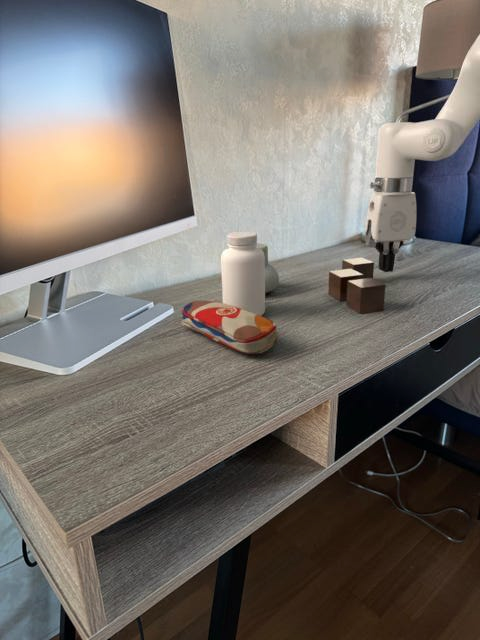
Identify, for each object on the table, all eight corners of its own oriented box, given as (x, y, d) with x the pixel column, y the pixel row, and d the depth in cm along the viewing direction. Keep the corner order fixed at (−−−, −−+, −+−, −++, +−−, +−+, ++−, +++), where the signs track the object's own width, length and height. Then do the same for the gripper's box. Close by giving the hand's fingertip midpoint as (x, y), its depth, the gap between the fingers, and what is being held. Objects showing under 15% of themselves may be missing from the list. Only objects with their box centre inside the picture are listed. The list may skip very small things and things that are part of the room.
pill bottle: (258, 322, 79) (255, 238, 74) (216, 318, 82) (211, 237, 77) (270, 308, 86) (269, 230, 81) (232, 304, 89) (228, 229, 83)
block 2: (369, 302, 87) (370, 277, 85) (383, 310, 82) (385, 284, 81) (346, 305, 86) (347, 280, 84) (359, 314, 81) (361, 287, 79)
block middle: (349, 291, 94) (350, 268, 92) (362, 298, 89) (363, 274, 87) (328, 294, 93) (328, 271, 91) (339, 301, 88) (340, 277, 86)
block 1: (360, 278, 102) (362, 257, 100) (372, 284, 98) (374, 262, 96) (341, 281, 101) (342, 259, 99) (352, 287, 96) (353, 264, 95)
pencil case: (219, 369, 63) (216, 337, 61) (176, 325, 80) (174, 298, 78) (285, 352, 67) (285, 321, 66) (232, 313, 84) (231, 288, 82)
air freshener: (229, 287, 100) (227, 243, 96) (263, 282, 102) (262, 239, 99) (245, 301, 90) (243, 253, 87) (282, 296, 93) (282, 248, 89)
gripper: (371, 189, 89) (365, 278, 95) (435, 185, 92) (424, 271, 99) (352, 187, 95) (347, 269, 102) (412, 183, 99) (404, 263, 106)
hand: (385, 270), depth 101 cm, fingers closed
